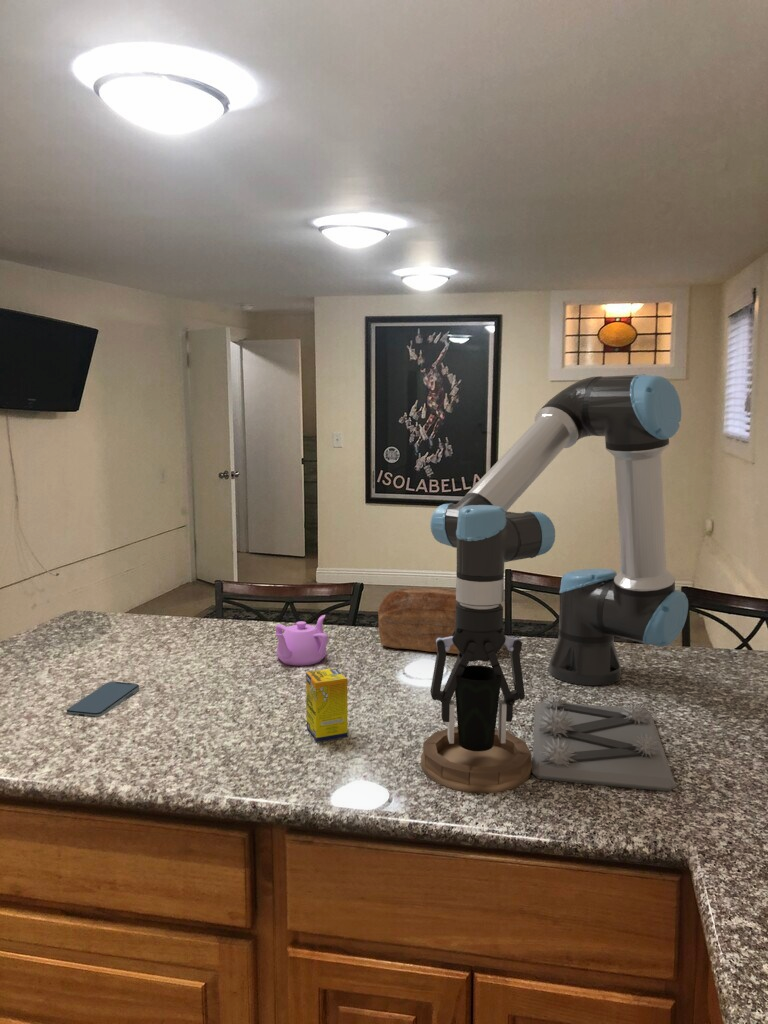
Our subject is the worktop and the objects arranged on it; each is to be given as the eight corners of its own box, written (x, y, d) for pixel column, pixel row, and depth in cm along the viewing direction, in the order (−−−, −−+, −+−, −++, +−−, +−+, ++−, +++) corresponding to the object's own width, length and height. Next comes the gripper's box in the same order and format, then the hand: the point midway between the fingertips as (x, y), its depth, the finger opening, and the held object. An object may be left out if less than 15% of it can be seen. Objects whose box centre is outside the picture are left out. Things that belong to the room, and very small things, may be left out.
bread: (488, 661, 178) (490, 601, 176) (373, 650, 186) (373, 591, 184) (497, 646, 189) (498, 589, 187) (387, 636, 198) (387, 581, 196)
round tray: (519, 741, 136) (520, 725, 135) (543, 792, 118) (543, 773, 117) (417, 742, 135) (417, 725, 135) (425, 793, 117) (425, 774, 117)
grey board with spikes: (676, 797, 117) (678, 753, 116) (532, 783, 122) (533, 740, 121) (650, 719, 146) (652, 683, 145) (534, 710, 151) (535, 675, 150)
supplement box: (305, 729, 140) (305, 671, 139) (337, 724, 143) (336, 667, 141) (316, 742, 135) (315, 682, 133) (348, 737, 137) (348, 677, 136)
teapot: (325, 649, 187) (325, 613, 186) (329, 668, 173) (329, 630, 172) (275, 651, 185) (275, 615, 184) (275, 670, 171) (275, 632, 170)
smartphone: (63, 710, 147) (108, 680, 161) (64, 718, 147) (108, 688, 162) (99, 713, 145) (141, 683, 160) (99, 722, 146) (141, 691, 160)
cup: (498, 756, 121) (500, 682, 120) (450, 751, 123) (451, 679, 121) (501, 736, 129) (503, 666, 127) (455, 732, 130) (456, 663, 129)
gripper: (538, 597, 127) (533, 730, 130) (413, 597, 126) (411, 730, 129) (549, 609, 119) (544, 749, 122) (416, 609, 119) (414, 750, 122)
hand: (476, 739), depth 126 cm, fingers closed on cup, 8 cm apart
